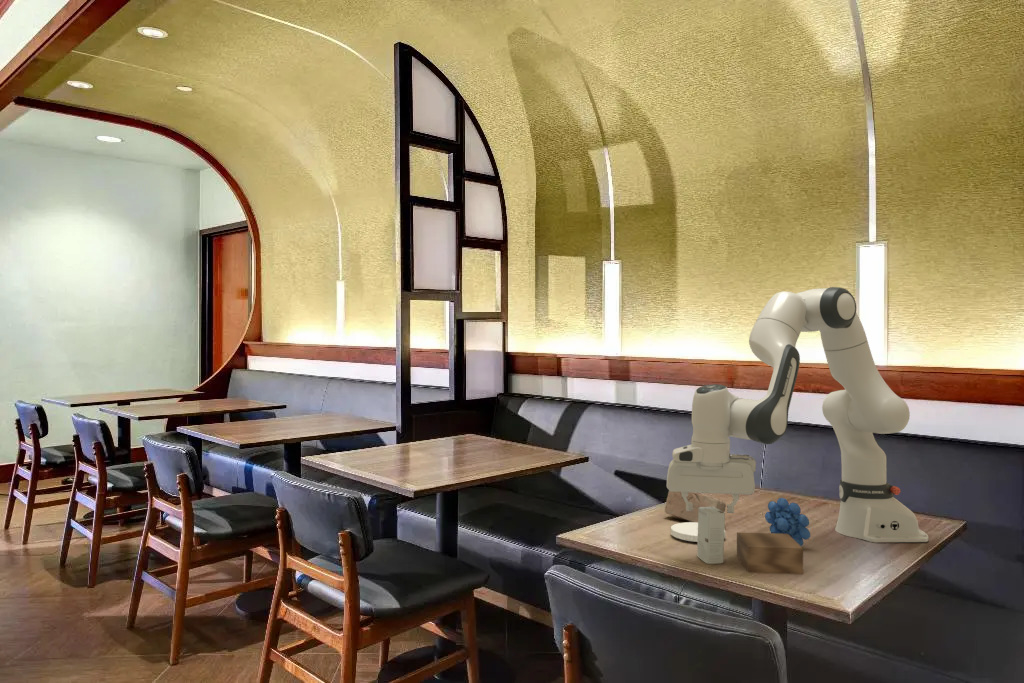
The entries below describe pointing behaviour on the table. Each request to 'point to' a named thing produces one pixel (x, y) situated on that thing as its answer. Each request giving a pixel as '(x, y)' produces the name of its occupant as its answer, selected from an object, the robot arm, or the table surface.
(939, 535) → the table surface
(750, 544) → the walnut block
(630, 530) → the table surface
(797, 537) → the grapes
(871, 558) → the table surface
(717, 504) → the brick
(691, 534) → the plastic lid
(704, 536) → the skincare box
